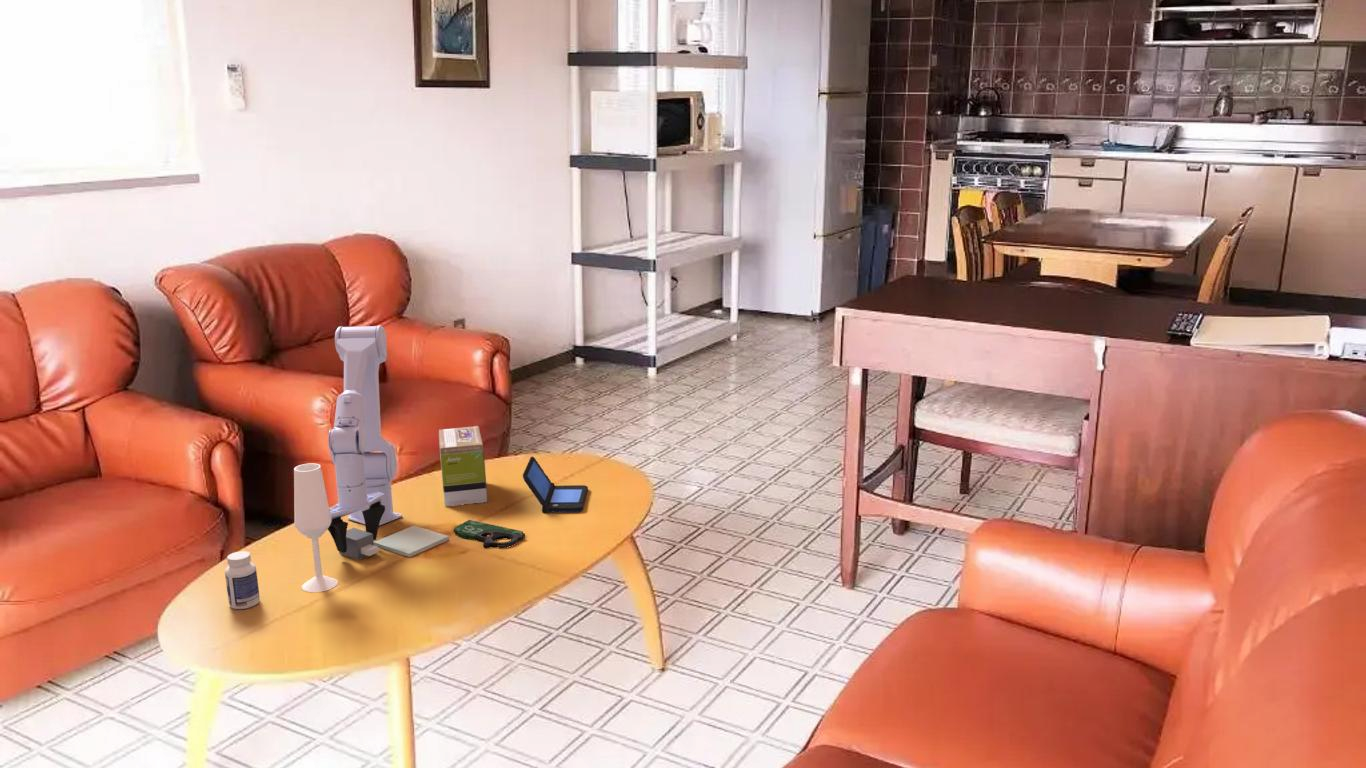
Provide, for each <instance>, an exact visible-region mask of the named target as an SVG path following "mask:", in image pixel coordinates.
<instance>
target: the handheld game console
mask: <svg viewBox="0 0 1366 768" xmlns="http://www.w3.org/2000/svg"><path fill="white" fill-rule="evenodd" d="M522 479H523V481H524V483H526V485H527V486H528V488H529V490H530V491H531V493H532V494H533V496H534V497H535V498H536V499H537V501H538V502H539V504H540V505H541V512H542V513H543V514H544V513H545V514H546V513H580V512H582V511H583V510H584V506H585V503H586V499H587V496H588V492H589V487H588V486H587V485H585V484H584V485H579V484H578V485H573V484H572V485H555V483H554V482H552V481H551V479H550V478H549V477H548V475H547V474H546V473H545V471H544V469H543V468H542V467H541V465H540V464H539V462H538V461H537V459H536V458H535V457H534V456H530V458H529V460H528V462H527V464H526V467H525V468H524V471H523V474H522Z"/></svg>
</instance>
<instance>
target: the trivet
mask: <svg viewBox="0 0 1366 768" xmlns="http://www.w3.org/2000/svg"><path fill="white" fill-rule="evenodd" d="M449 540H450V537H449V535H446V534H443V533H439V532H436V531H434V530H430V529H426V528H423V527H419V526H418V525H417V526H416V525H411V526H409V527H407V528H404V529H402V530H400V531H398V532H395V533H393V534H390V535H388V536H385V537H383V538H380V539H378V540H377V539H376V540H374V541H373V542H374V546H377V547H378V549H379V548H380V549H383V550H386V551H389V552H392V553H395V554H399V555H402V556H405V557H408V558H410V557H411V558H412V557H413V556H415V555H418V554H420V553H423V552H424V551H427V550H429V549H431V548H433V547H436V546H438V545H440V544H443V543H445V542H447V541H449Z"/></svg>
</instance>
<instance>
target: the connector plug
mask: <svg viewBox="0 0 1366 768" xmlns="http://www.w3.org/2000/svg"><path fill="white" fill-rule="evenodd" d="M346 542H347V552H344V553H343V552H340V551H338V553H339V554H340V555H342V556H346V557H349V558H351V559H354V560H356V561H359V560H362V559H364V558H366V557H370V556H372V555H375V554H378V553H379V547H377V546H374V542H375V541H374V540H373V534H372V533H369V532H366V530H362V529H360V528H355V527H352V528H350V529H347V532H346Z"/></svg>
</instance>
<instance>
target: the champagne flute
mask: <svg viewBox="0 0 1366 768" xmlns="http://www.w3.org/2000/svg"><path fill="white" fill-rule="evenodd" d="M293 479H294V480H293V482H294V483H293V488H294V489H293V490H294V491H293V492H294V494H293V495H294V496H293V497H294V500H293V501H294V502H293V503H294V504H293V505H294V508H293V509H294V514H293V515H294V527H295V528H296V530H297V531H298V532H299V533H300V534H301V535H302V536H305V537H306V538H308V539H311V543H312V553H313V554H312V555H313V562H314V573H315V576H313V577H312V578H310V579H309V580H307V581H306V582H304V583H303V584H302V586H301V589H302V591H304V592H306V593H307V592H308V593H320V592H325V591H330V590H331V589H333V588H335V587H336V586H337V585H338V583H339V582H338V580H337V579H336V578H333V577H330V576H327V575H324V574H323V571H322V562H321V553H320V552H321V551H320V543H319V538H321V537H322V536H323V535H324V534H325V533H326V531H328V528H329V526H330V524H331V520H332V519H331V514H330V505H329V500H328V496H327V490H326V485H325V481H324V477H323V471H322V468H321V464H319V463H312V462H311V463H304V464H299V465H297V466H295V467H294V468H293Z"/></svg>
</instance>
